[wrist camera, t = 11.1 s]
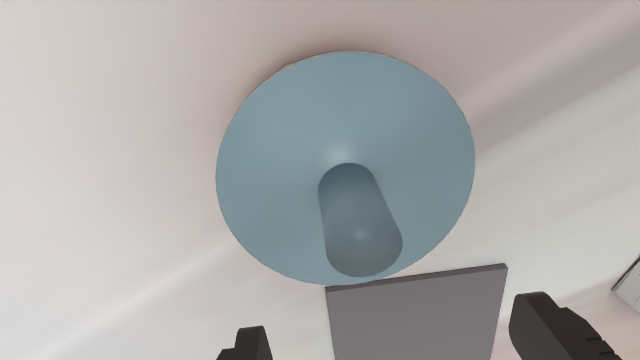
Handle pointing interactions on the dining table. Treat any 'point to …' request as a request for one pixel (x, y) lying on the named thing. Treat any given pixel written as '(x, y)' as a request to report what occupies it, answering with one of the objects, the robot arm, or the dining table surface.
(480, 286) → the mat
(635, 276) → the skincare box
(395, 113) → the lid
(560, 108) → the dining table surface
